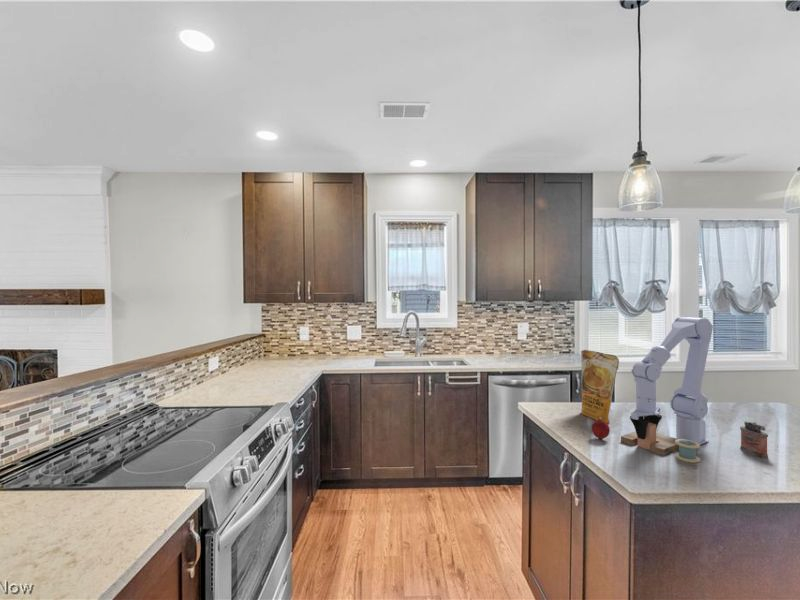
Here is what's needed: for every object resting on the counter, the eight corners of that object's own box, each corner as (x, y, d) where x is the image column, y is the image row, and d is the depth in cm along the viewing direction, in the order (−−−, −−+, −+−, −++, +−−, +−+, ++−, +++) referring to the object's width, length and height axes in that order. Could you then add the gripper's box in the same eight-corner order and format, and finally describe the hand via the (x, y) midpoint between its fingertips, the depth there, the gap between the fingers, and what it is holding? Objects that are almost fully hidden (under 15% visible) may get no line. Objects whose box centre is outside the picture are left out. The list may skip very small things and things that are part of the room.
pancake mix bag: (587, 410, 175) (587, 349, 174) (620, 424, 156) (620, 355, 156) (574, 411, 173) (574, 349, 173) (606, 425, 155) (606, 355, 154)
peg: (644, 443, 135) (643, 421, 135) (656, 447, 132) (656, 424, 132) (637, 446, 133) (637, 423, 133) (650, 450, 130) (649, 426, 130)
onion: (612, 443, 136) (611, 420, 136) (594, 441, 138) (594, 419, 137) (606, 437, 142) (606, 415, 142) (589, 436, 143) (589, 414, 143)
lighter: (737, 448, 130) (737, 419, 130) (746, 448, 131) (746, 418, 131) (761, 458, 122) (761, 427, 122) (771, 458, 123) (771, 426, 123)
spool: (681, 452, 127) (681, 437, 127) (704, 459, 122) (703, 444, 122) (671, 457, 124) (670, 441, 124) (694, 464, 119) (694, 448, 119)
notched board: (642, 434, 144) (642, 429, 144) (685, 446, 132) (685, 441, 132) (620, 441, 137) (620, 436, 137) (663, 455, 125) (663, 449, 125)
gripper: (646, 403, 126) (646, 444, 126) (669, 397, 133) (669, 436, 133) (624, 398, 132) (624, 437, 132) (648, 392, 139) (648, 430, 139)
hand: (646, 436), depth 133 cm, fingers open, 5 cm apart
